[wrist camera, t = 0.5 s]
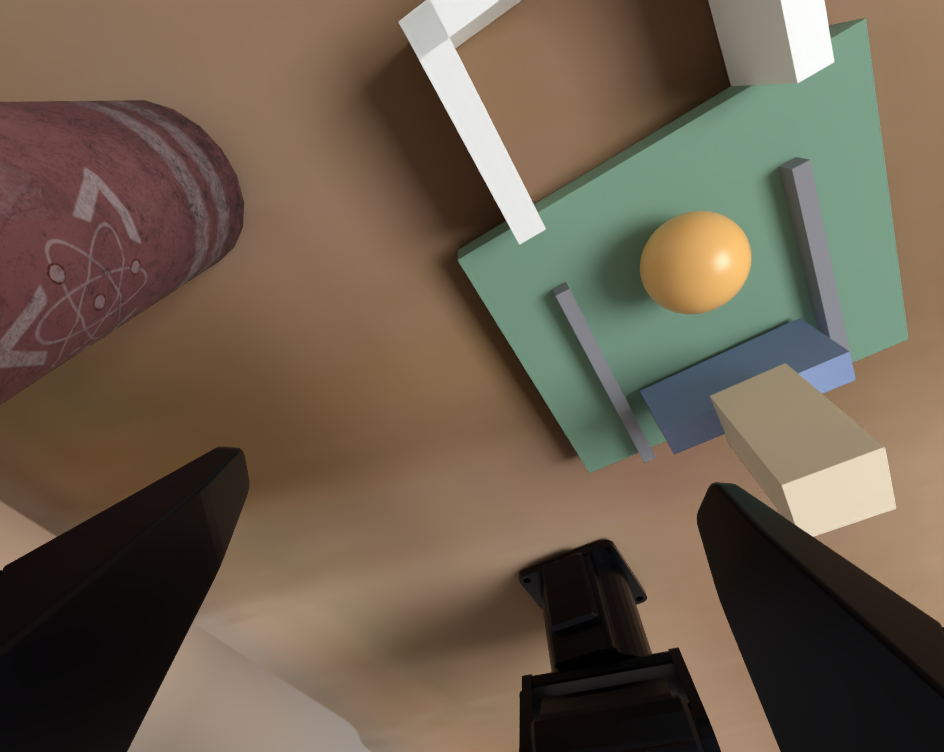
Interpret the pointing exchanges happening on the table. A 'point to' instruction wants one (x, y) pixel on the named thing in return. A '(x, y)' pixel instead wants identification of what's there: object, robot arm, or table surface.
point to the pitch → (716, 190)
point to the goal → (479, 3)
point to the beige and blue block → (782, 425)
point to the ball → (695, 262)
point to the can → (100, 222)
